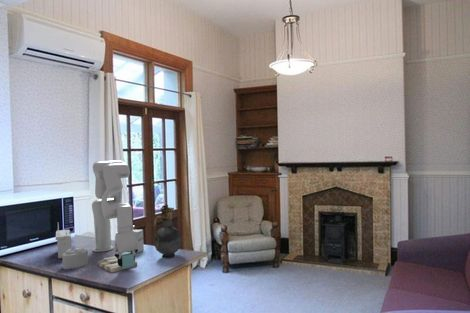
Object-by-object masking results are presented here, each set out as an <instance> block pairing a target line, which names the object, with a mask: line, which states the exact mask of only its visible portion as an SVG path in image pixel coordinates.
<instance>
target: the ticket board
mask: <svg viewBox="0 0 470 313" xmlns="http://www.w3.org/2000/svg"><path fill="white" fill-rule="evenodd" d="M97 266H99V267H100V268H103V269H105V270H106V271H108V272H110V273H115V272H118V271H123V270H126V269H131V268H134V267H137V266H138V261H136V260H135V263H134V266H131V267H127V268H121V267H119V265H118V259H117V257H115V256H114V255H112V256H106V257H103V259H101V260H98V261H97Z"/></svg>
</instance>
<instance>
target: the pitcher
mask: <svg viewBox="0 0 470 313" xmlns="http://www.w3.org/2000/svg"><path fill="white" fill-rule="evenodd" d="M174 210H175V207H169V204H165V205H163V206H161V208H160V212H161V215H157V216H155V219H154V221H153V222H154V223H153V228H154V231H155V232H154V233H155V234H154V242H153V243H154V244H153V245H154V248H155V250H156V251H157V252H159V254H162V255H161V258H162V259H171V258H174V257H176V253H177V252H178V251H179V250H180V248H181V245H182V234H181V231H180V230H178V228H176V227H174V226H172V225H173V223H172V220H173V215H172V214H173V211H174ZM160 219H162V227H161V228H159V229H158V230H157V223H158V220H160Z"/></svg>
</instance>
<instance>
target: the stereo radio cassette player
mask: <svg viewBox="0 0 470 313" xmlns="http://www.w3.org/2000/svg"><path fill="white" fill-rule="evenodd" d="M59 228H60V226H59V223H57V230H56V231H55V240H56V242H57V244H56V245H57V258H58V259H59V260H60V259H62V254H63V253H65V252H66V251H67V250H68V249H72V236H71V230H70V229H61V230H60V229H59Z"/></svg>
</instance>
